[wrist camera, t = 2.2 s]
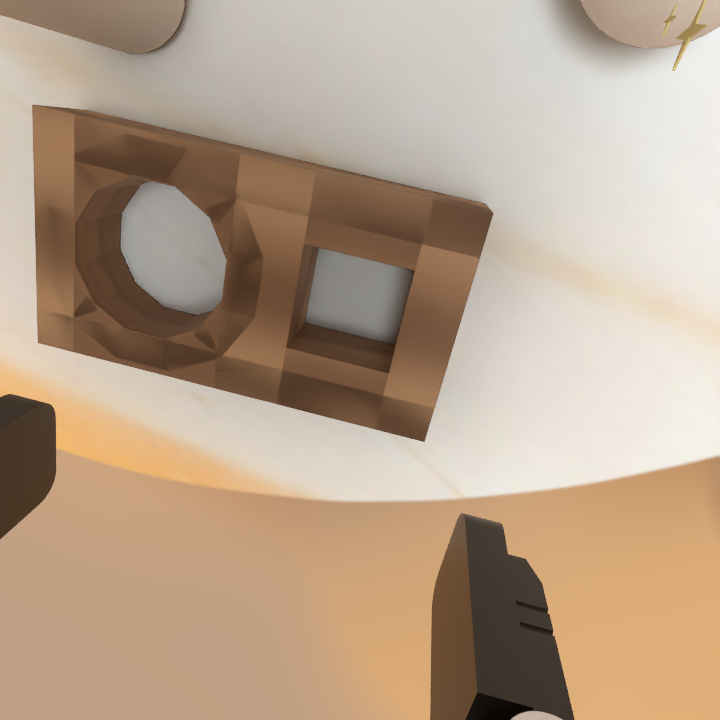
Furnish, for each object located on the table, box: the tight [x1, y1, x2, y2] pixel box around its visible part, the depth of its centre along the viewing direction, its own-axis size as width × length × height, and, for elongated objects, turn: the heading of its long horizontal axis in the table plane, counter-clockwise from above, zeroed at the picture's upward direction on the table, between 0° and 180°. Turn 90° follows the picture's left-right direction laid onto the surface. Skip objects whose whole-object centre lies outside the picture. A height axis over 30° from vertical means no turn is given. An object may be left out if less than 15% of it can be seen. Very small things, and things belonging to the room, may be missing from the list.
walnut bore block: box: [32, 105, 493, 442], centre depth 24 cm, size 10×18×4 cm, turn 78°
